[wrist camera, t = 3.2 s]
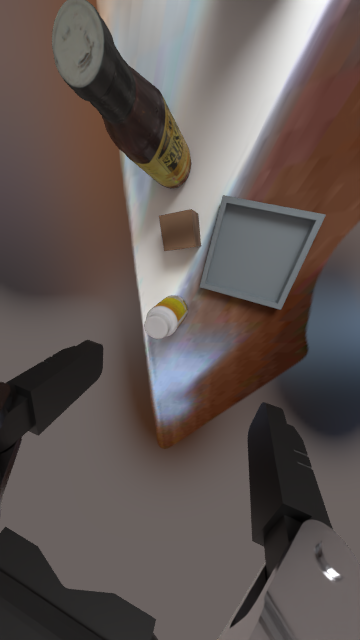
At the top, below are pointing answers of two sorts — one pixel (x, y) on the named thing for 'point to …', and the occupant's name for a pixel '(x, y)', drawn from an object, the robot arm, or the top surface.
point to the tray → (258, 250)
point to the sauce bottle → (119, 94)
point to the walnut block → (180, 230)
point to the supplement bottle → (166, 317)
